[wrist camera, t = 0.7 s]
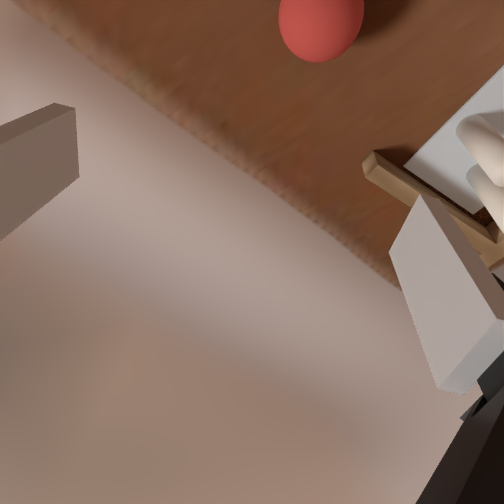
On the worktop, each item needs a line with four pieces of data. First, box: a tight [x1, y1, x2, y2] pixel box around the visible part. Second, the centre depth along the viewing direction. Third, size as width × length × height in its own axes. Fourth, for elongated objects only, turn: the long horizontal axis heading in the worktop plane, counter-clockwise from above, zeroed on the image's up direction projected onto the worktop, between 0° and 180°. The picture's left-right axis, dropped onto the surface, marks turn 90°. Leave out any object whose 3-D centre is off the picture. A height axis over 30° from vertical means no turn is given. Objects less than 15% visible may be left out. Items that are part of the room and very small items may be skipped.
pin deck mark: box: [403, 65, 504, 214], centre depth 34 cm, size 12×10×1 cm
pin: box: [466, 163, 504, 233], centre depth 33 cm, size 2×2×8 cm
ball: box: [279, 0, 364, 63], centre depth 27 cm, size 6×6×6 cm
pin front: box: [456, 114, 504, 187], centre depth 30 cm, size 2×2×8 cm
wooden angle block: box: [362, 151, 504, 268], centre depth 33 cm, size 18×18×3 cm
